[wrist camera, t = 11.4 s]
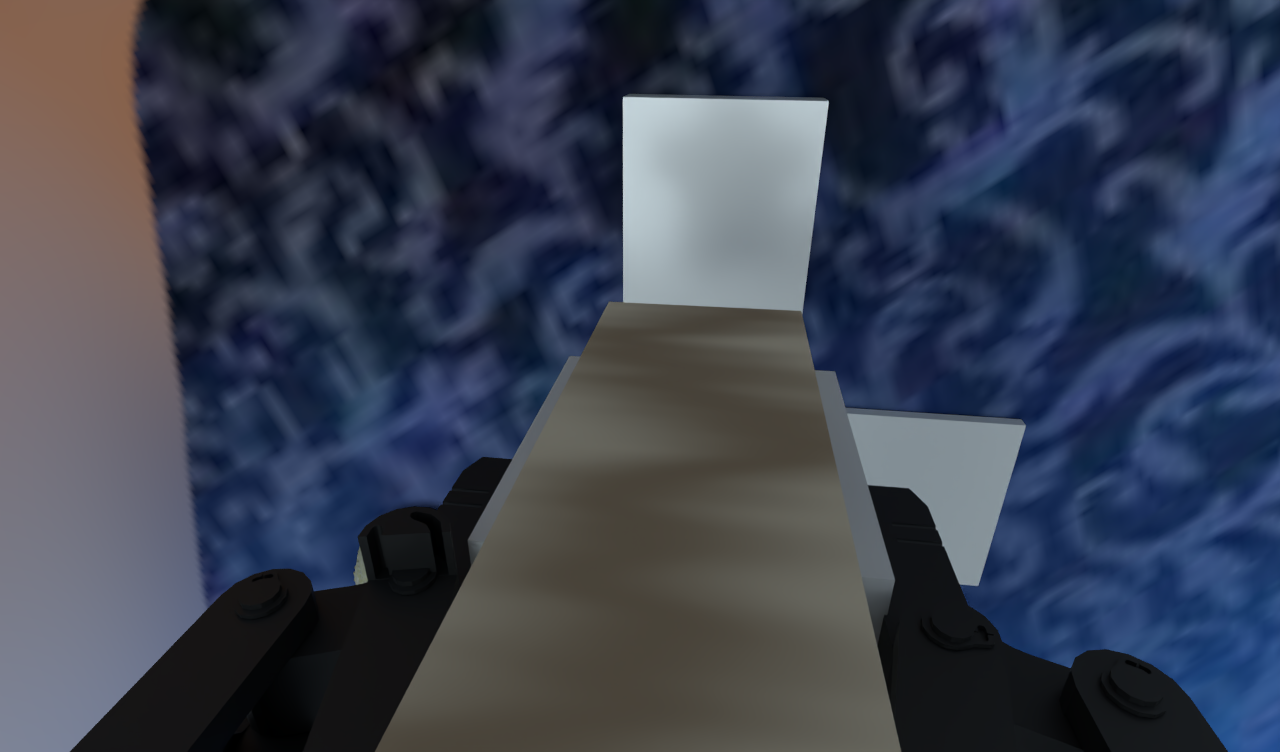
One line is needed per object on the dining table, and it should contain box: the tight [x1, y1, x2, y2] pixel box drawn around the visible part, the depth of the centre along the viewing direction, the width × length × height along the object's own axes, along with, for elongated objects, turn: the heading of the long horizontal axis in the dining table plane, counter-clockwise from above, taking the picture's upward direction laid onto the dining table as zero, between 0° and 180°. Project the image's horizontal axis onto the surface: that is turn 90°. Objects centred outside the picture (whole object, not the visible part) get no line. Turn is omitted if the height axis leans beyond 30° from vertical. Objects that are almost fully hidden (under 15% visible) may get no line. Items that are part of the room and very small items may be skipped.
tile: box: [623, 94, 829, 312], centre depth 29 cm, size 2×8×9 cm
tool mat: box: [846, 408, 1026, 586], centre depth 35 cm, size 10×10×1 cm
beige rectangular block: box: [375, 302, 901, 752], centre depth 11 cm, size 4×4×13 cm
